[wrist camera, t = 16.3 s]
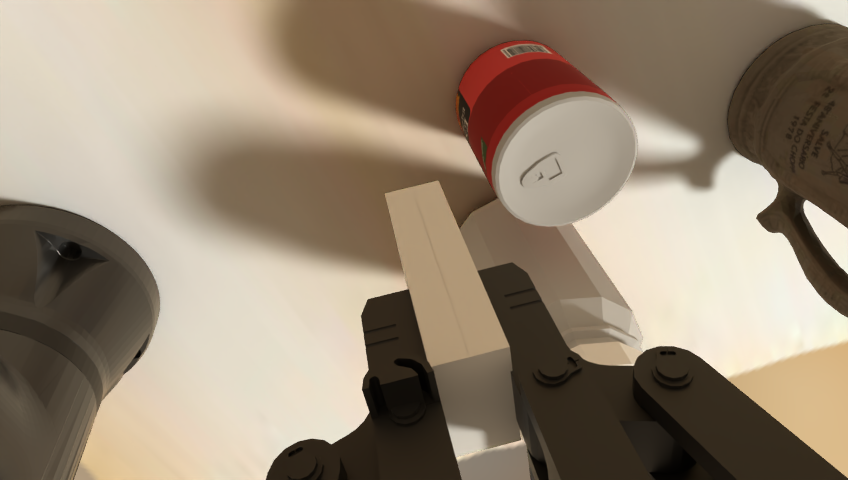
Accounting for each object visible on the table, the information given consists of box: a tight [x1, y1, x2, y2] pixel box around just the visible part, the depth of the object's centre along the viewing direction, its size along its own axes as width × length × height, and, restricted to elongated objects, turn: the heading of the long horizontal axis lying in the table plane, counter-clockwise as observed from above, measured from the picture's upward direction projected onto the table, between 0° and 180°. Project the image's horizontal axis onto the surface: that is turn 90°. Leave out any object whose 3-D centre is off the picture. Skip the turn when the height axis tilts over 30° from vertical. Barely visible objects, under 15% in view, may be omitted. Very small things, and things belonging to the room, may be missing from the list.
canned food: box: [456, 40, 638, 227], centre depth 36 cm, size 8×8×11 cm
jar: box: [459, 199, 643, 444], centre depth 40 cm, size 10×10×18 cm
